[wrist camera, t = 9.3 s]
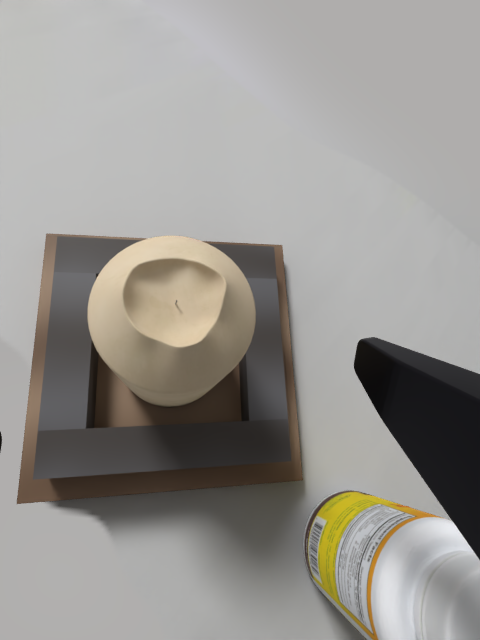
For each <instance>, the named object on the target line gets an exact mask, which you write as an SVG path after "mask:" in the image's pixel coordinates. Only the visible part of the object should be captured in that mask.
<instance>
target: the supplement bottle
mask: <svg viewBox="0 0 480 640" xmlns="http://www.w3.org/2000/svg"><path fill="white" fill-rule="evenodd" d="M303 551H304V558H305V563H306V566H307V569H308V572H309V574H310V576H311V578H312V580H313V582H314V583H315V584H316V586H317V587H318V588H319V590H320V591H321V592H322V593H323V594H324V595H325V596H326V597H327V599H328V600H329V601H330V602H331V603H332V604H333V605H334V606H335V607H336V608H337V609H338V610H339V611H340V612H341V613H342V614H343V615H344V617H345V618H346V619H347V620H348V621H349V622H350V623H351V624H352V625H353V626H354V627H355V628H356V629H357V630H358V631H359V632H360V633H361V634H362V635H363V636H364V637H365V638H366V639H367V640H480V560H479V559H478V557H477V556H476V554H475V553H474V551H473V550H472V549H471V547H470V546H469V544H468V543H467V541H466V540H465V538H464V537H463V536H462V534H461V533H460V531H459V530H458V528H457V527H456V526H455V524H454V523H453V521H451V520H448V519H445V518H441V517H438V516H435V515H432V514H429V513H426V512H423V511H419V510H416V509H414V508H410V507H408V506H403V505H400V504H397V503H394V502H391V501H388V500H384V499H381V498H378V497H375V496H372V495H369V494H366V493H362V492H358V491H351V490H347V491H339V492H336V493H333V494H331V495H329V496H327V497H326V498H324V499H323V500H322V501H321V502H320V503H319V504H318V505H317V506H316V507H315V508H314V510H313V511H312V513H311V515H310V516H309V519H308V521H307V524H306V527H305V531H304V538H303Z"/></svg>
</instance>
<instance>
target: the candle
mask: <svg viewBox="0 0 480 640" xmlns="http://www.w3.org/2000/svg"><path fill="white" fill-rule="evenodd" d="M87 318H88V326H89V331H90V335H91V338H92V341H93V343H94V345H95V348H96V350H97V352H98V353H99V355H100V356H101V358H102V359H103V361H104V362H105V363H106V364H107V365H108V366H109V368H110V369H111V370H112V371H113V372H114V373H115V374H116V375H117V376H118V377H119V378H120V379H121V380H122V381H123V383H124V384H125V385H126V386H127V387H128V388H129V389H130V390H131V391H132V392H133V393H134V394H135V395H137V396H138V397H139V398H141V399H142V400H144V401H146V402H148V403H150V404H153V405H156V406H161V407H179V406H184V405H187V404H189V403H192V402H194V401H196V400H198V399H199V398H201V397H202V396H203V395H205V394H206V393H207V392H208V391H209V390H211V389H212V388H213V387H214V386H215V385H216V384H217V383H218V382H220V381H221V380H222V379H223V378H224V377H225V376H226V375H227V374H229V373H230V372H231V371H232V370H233V369H234V368H235V367H236V366H237V364H238V363H239V362H240V361H241V360H242V358H243V356H244V355H245V353H246V352H247V350H248V347H249V345H250V343H251V340H252V337H253V334H254V329H255V323H256V309H255V301H254V297H253V293H252V291H251V288H250V285H249V283H248V281H247V279H246V278H245V276H244V274H243V273H242V271H241V270H240V269H239V267H238V266H237V265H236V264H235V263H234V262H233V261H232V260H231V259H230V258H229V257H228V256H227V255H225V254H224V253H223V252H221V251H220V250H218V249H217V248H215V247H213V246H211V245H209V244H207V243H205V242H202V241H200V240H197V239H193V238H189V237H182V236H160V237H153V238H149V239H145V240H142V241H139V242H137V243H135V244H133V245H131V246H129V247H127V248H125V249H124V250H122V251H121V252H119V253H118V254H117V255H115V256H114V257H113V258H112V259H111V260H110V261H109V262H108V263H107V264H106V265H105V267H104V268H103V269H102V271H101V272H100V274H99V275H98V277H97V279H96V281H95V283H94V285H93V287H92V290H91V293H90V296H89V302H88V317H87Z"/></svg>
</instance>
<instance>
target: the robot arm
mask: <svg viewBox="0 0 480 640" xmlns="http://www.w3.org/2000/svg"><path fill="white" fill-rule="evenodd" d="M354 369H355V372H356V374H357V376H358V378H359V380H360V381H361V383H362V385H363V387H364V389H365V391H366V392H367V394H368V396H369V398H370V400H371V401H372V403H373V405H374V407H375V409H376V410H377V412H378V414H379V416H380V417H381V419H382V420H383V422H384V423H385V425H386V426H387V428H388V429H389V431H390V432H391V434H392V435H393V436H394V438H395V439H396V441H397V442H398V444H399V445H400V446H401V448H402V449H403V451H404V452H405V454H406V455H407V457H408V458H409V459H410V461H411V462H412V464H413V465H414V467H415V468H416V469H417V471H418V472H419V474H420V475H421V477H422V478H423V480H424V481H425V482H426V484H427V485H428V487H429V488H430V490H431V491H432V492H433V494H434V495H435V497H436V498H437V500H438V501H439V503H440V504H441V505H442V507H443V508H444V510H445V511H446V513H447V514H448V515H449V517H450V518H451V520H452V521H453V523H454V524H455V526H456V527H457V528H458V530H459V531H460V533H461V534H462V536H463V537H464V538H465V540H466V541H467V543H468V544H469V546H470V547H471V549H472V550H473V551H474V553H475V554H476V556H477V557H478V559H479V560H480V374H478V373H475V372H472V371H469V370H466V369H464V368H461V367H458V366H455V365H452V364H449V363H446V362H444V361H441V360H438V359H435V358H432V357H429V356H427V355H424V354H421V353H418V352H415V351H412V350H410V349H407V348H404V347H401V346H398V345H395V344H392V343H390V342H387V341H384V340H381V339H378V338H375V337H371V338H365V339H361V340H360V341H359V342H358V345H357V350H356V355H355V361H354ZM1 444H2V436H1V432H0V450H1Z"/></svg>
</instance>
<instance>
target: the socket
mask: <svg viewBox="0 0 480 640" xmlns="http://www.w3.org/2000/svg"><path fill="white" fill-rule="evenodd" d="M145 239H146V238H126V237H106V236H86V235H65V234H46V242H45V251H44V260H43V269H42V278H41V288H40V297H39V306H38V315H37V324H36V333H35V342H34V351H33V360H32V369H31V379H30V388H29V397H28V407H27V415H26V424H25V433H24V442H23V451H22V460H21V470H20V479H19V488H18V498H17V504H21V503H33V502H45V501H58V500H70V499H82V498H94V497H106V496H118V495H130V494H142V493H154V492H166V491H178V490H191V489H203V488H215V487H227V486H239V485H251V484H263V483H275V482H287V481H299V480H303V478H302V466H301V455H300V444H299V432H298V421H297V409H296V398H295V386H294V375H293V363H292V352H291V341H290V329H289V318H288V306H287V295H286V283H285V272H284V261H283V249H282V245H268V244H248V243H228V242H207V241H202V242H205V243H207V244H209V245H211V246H213V247H215V248H217V249H218V250H220V251H221V252H223V253H224V254H225V255H227V256H228V257H229V258H230V259H231V260H232V261H233V262H234V263H235V264H236V265H237V266H238V267H239V269H240V270H241V271H242V273H243V274H244V276H245V278H246V279H247V281H248V283H249V285H250V288H251V291H252V293H253V297H254V301H255V309H256V323H255V329H254V334H253V337H252V340H251V343H250V345H249V347H248V350H247V352H246V353H245V355H244V356H243V358H242V360H241V361H240V362H239V363H238V364H237V366H236V367H235V368H234V369H233V370H232V371H231V372H230V373H229V374H227V375H226V376H225V377H224V378H223V379H222V380H221V381H220V382H218V383H217V384H216V385H215V386H214V387H213V388H212V389H211V390H209V391H208V392H207V393H206V394H205V395H203V396H202V397H201V398H199V399H198V400H196V401H194V402H192V403H189V404H187V405H184V406H179V407H161V406H156V405H153V404H150V403H148V402H146V401H144V400H142V399H141V398H139V397H138V396H137V395H135V394H134V393H133V392H132V391H131V390H130V389H129V388H128V387H127V386H126V385H125V384H124V383H123V381H122V380H121V379H120V378H119V377H118V376H117V375H116V374H115V373H114V372H113V371H112V370H111V369H110V368H109V366H108V365H107V364H106V363H105V362H104V361H103V359H102V358H101V356H100V355H99V353H98V352H97V350H96V348H95V345H94V343H93V341H92V338H91V335H90V331H89V326H88V318H87V317H88V302H89V296H90V293H91V290H92V287H93V285H94V283H95V281H96V279H97V277H98V275H99V274H100V272H101V271H102V269H103V268H104V267H105V265H106V264H107V263H108V262H109V261H110V260H111V259H112V258H113V257H114V256H115V255H117V254H118V253H119V252H121V251H122V250H124V249H125V248H127V247H129V246H131V245H133V244H135V243H137V242H139V241H142V240H145Z"/></svg>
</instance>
